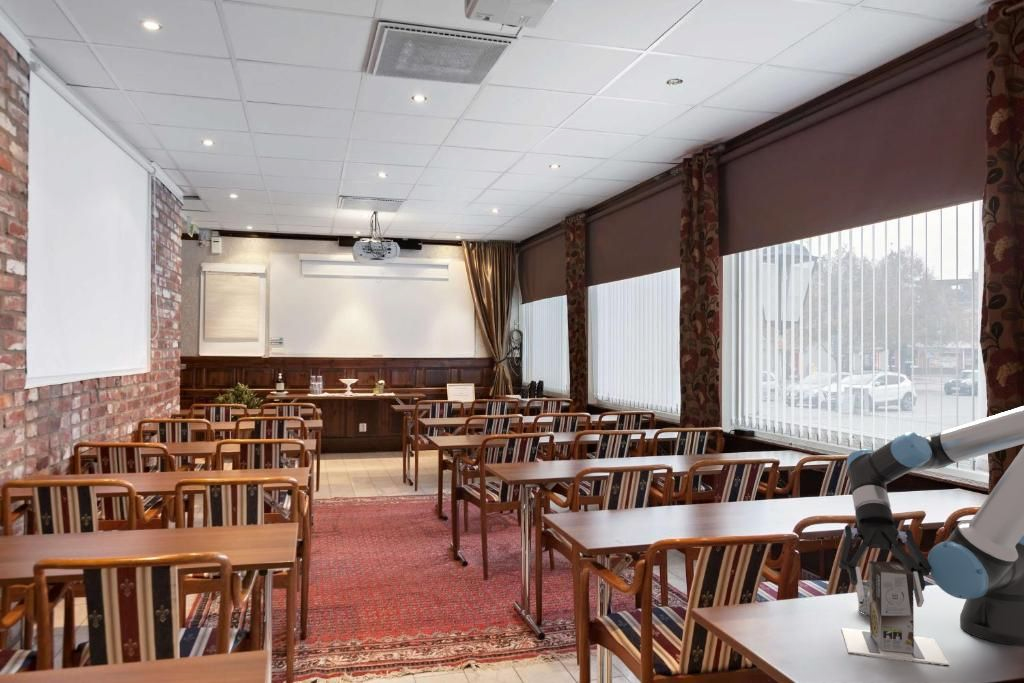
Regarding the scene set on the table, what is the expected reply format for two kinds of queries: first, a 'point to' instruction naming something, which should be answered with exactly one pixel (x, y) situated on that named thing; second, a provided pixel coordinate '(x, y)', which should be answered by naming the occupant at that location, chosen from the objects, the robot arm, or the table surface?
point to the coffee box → (891, 606)
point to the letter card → (867, 646)
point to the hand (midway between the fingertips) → (890, 601)
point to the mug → (865, 599)
